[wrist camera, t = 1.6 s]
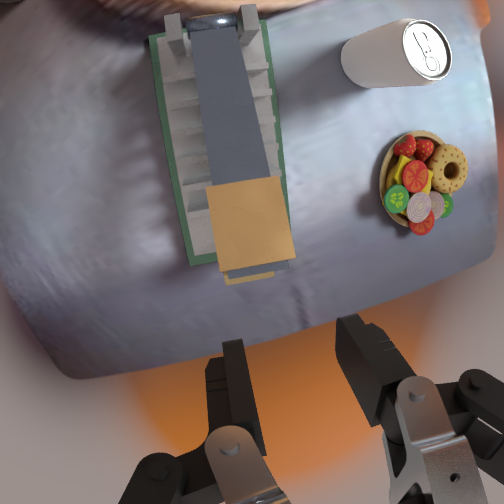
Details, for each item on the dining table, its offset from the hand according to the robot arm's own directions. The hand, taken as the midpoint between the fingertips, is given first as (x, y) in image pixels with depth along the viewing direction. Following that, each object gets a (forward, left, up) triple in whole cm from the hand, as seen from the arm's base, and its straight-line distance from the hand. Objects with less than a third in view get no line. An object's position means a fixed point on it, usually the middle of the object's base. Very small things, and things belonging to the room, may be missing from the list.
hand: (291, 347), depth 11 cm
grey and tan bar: (0, +7, -14) cm, 16 cm away
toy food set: (+24, -2, -26) cm, 35 cm away
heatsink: (0, +5, -25) cm, 26 cm away
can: (+17, +13, -25) cm, 33 cm away
